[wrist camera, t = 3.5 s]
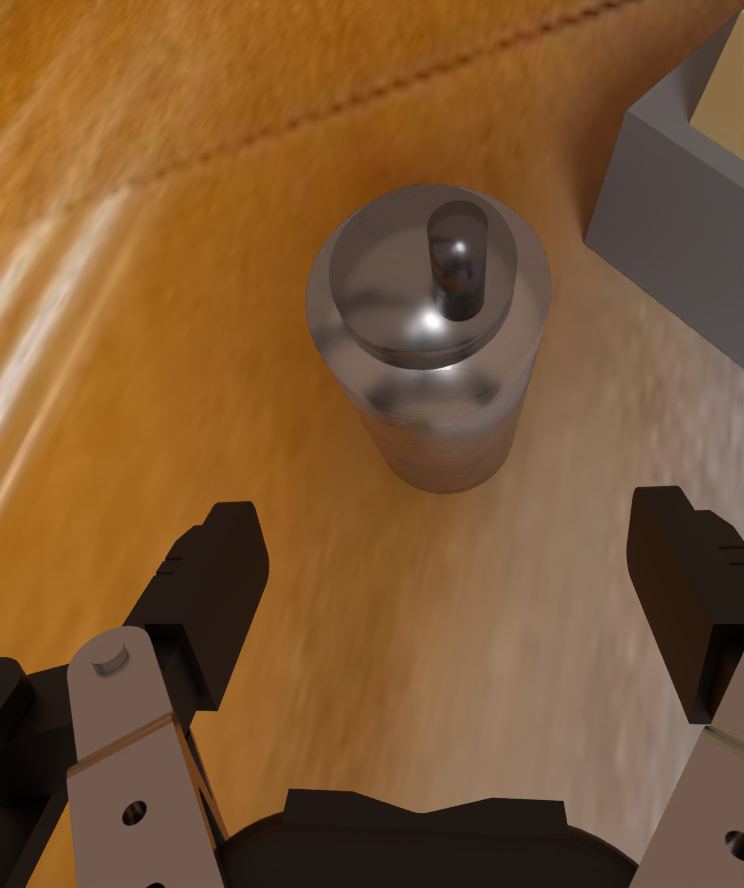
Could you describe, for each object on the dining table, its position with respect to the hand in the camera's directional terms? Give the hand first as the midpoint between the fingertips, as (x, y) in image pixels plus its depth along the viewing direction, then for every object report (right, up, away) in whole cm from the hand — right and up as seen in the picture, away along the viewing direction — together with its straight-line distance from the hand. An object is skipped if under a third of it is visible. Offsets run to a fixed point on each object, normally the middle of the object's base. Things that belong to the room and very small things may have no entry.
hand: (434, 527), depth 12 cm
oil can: (+2, +2, +11) cm, 12 cm away
